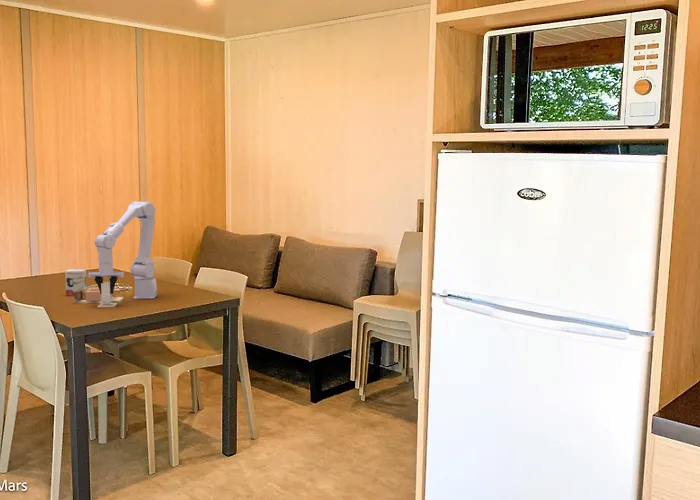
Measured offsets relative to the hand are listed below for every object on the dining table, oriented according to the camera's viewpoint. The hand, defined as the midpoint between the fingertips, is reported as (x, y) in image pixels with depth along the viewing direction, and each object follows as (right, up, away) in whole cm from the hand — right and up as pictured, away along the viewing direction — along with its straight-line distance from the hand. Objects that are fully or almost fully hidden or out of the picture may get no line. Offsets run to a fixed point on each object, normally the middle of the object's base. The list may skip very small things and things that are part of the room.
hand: (106, 293), depth 285 cm
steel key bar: (0, -4, +1) cm, 4 cm away
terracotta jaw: (-8, -3, +9) cm, 12 cm away
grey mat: (0, -5, +1) cm, 5 cm away
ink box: (-23, -2, +23) cm, 32 cm away
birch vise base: (-7, -4, +9) cm, 12 cm away
